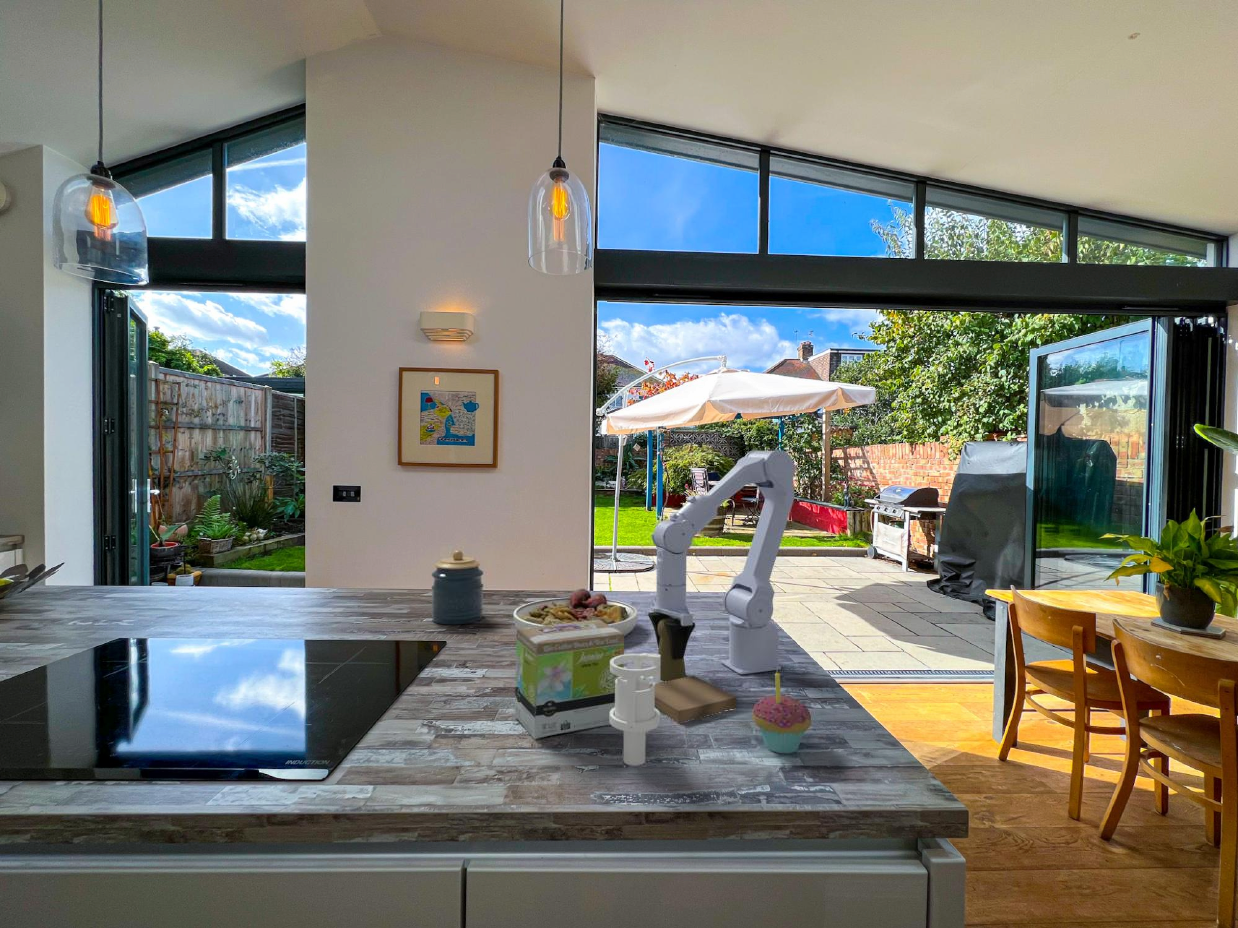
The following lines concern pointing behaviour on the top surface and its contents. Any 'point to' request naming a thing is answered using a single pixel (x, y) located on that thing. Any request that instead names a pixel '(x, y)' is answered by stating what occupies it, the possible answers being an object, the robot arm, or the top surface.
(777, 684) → the cupcake
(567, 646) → the tea box
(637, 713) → the white stepped hollow cylinder
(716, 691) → the walnut board
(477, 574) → the canister
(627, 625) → the bowl
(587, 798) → the top surface
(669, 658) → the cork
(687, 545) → the robot arm
